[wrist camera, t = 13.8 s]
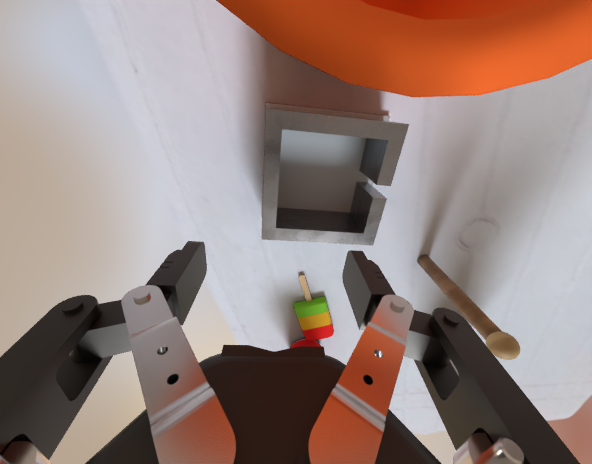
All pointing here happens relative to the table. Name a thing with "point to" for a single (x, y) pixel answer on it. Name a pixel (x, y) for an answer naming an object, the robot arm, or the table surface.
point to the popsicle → (313, 315)
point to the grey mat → (320, 165)
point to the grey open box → (367, 200)
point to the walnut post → (473, 313)
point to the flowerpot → (427, 40)
